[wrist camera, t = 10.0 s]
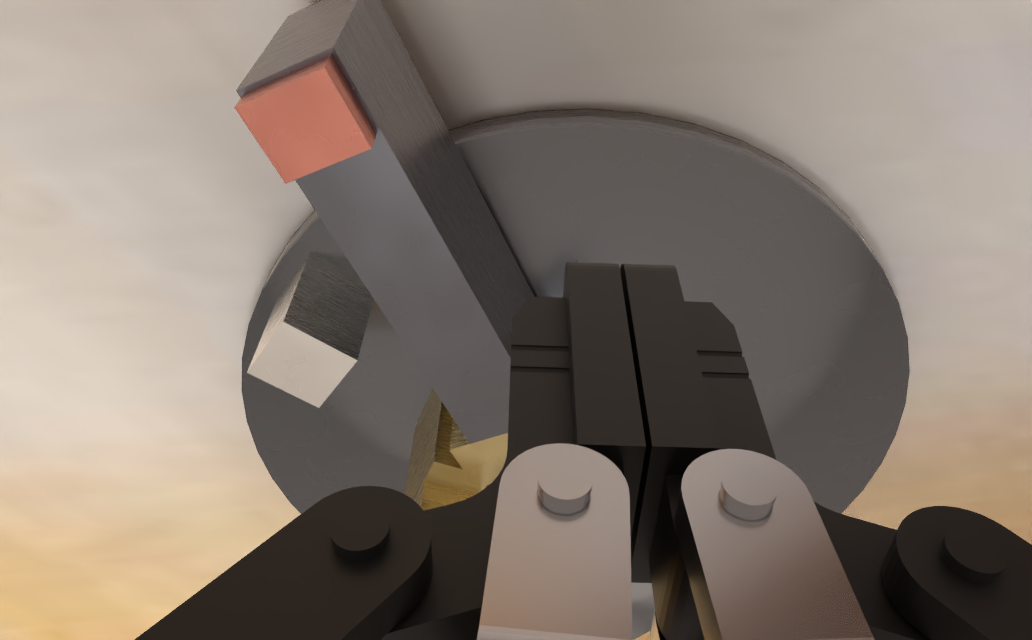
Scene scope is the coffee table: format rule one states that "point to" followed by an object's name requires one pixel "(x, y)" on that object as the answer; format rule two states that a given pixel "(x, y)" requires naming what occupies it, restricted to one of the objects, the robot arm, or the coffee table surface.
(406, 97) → the grey and gold lever
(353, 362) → the plate and cap
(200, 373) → the coffee table surface
